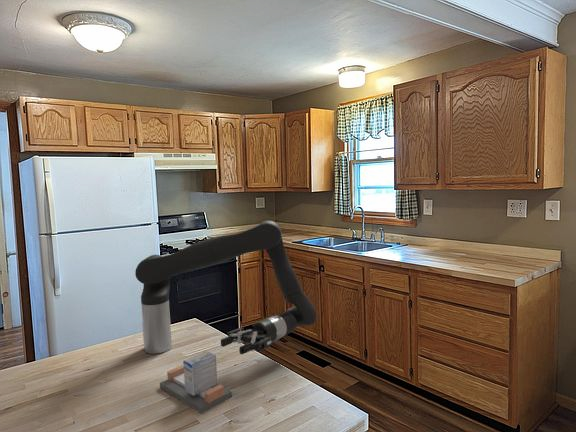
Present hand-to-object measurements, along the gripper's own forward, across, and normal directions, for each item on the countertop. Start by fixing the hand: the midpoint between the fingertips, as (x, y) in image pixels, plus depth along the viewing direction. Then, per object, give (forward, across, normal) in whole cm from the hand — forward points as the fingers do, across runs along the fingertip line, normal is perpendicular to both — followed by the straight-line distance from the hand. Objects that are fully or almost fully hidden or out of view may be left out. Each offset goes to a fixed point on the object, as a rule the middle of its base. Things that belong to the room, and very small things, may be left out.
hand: (230, 347), depth 116 cm
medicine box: (+11, 0, +8) cm, 13 cm away
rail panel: (+11, -3, +10) cm, 15 cm away
